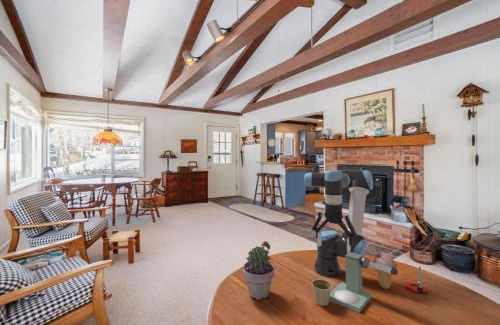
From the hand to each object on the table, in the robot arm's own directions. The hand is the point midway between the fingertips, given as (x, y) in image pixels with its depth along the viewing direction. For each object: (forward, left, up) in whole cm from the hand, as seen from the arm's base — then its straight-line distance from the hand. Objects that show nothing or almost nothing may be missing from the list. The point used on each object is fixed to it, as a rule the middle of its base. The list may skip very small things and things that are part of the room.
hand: (333, 248), depth 113 cm
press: (+4, +8, -25) cm, 27 cm away
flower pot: (-4, -4, -25) cm, 26 cm away
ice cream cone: (+13, +31, -25) cm, 42 cm away
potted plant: (-30, -20, -25) cm, 44 cm away
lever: (+15, +13, -10) cm, 23 cm away
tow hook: (+25, +40, -26) cm, 53 cm away
